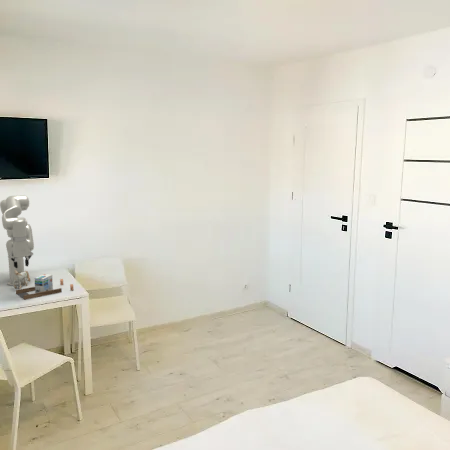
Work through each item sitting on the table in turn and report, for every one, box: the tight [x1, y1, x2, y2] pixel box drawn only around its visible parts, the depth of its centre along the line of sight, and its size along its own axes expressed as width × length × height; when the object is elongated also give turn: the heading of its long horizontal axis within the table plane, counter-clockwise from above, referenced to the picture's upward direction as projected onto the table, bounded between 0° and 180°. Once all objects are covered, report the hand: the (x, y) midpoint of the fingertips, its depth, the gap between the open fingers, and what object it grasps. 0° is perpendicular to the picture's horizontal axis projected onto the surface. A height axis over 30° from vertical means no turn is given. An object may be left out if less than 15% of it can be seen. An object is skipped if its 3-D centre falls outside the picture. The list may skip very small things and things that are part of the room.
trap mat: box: [16, 292, 30, 300], centre depth 295 cm, size 12×6×1 cm, turn 43°
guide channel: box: [15, 286, 62, 300], centre depth 301 cm, size 15×24×2 cm, turn 133°
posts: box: [59, 278, 74, 292], centre depth 313 cm, size 18×2×4 cm, turn 43°
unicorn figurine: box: [13, 270, 31, 290], centre depth 311 cm, size 7×20×13 cm, turn 3°
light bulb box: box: [33, 273, 54, 293], centre depth 302 cm, size 11×7×11 cm, turn 168°
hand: (21, 266), depth 291 cm, fingers open, 5 cm apart
